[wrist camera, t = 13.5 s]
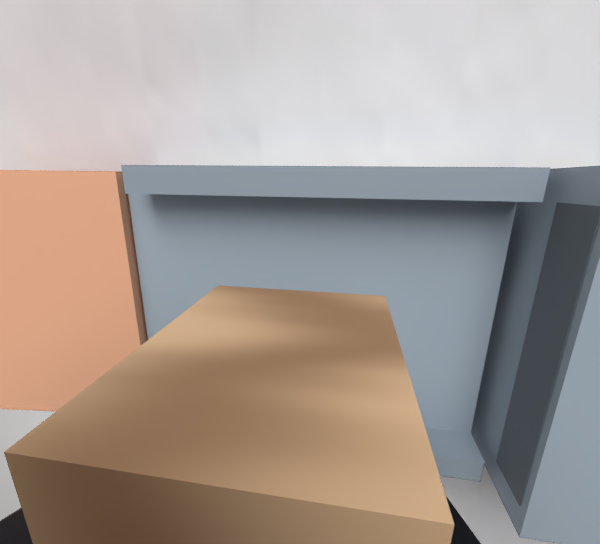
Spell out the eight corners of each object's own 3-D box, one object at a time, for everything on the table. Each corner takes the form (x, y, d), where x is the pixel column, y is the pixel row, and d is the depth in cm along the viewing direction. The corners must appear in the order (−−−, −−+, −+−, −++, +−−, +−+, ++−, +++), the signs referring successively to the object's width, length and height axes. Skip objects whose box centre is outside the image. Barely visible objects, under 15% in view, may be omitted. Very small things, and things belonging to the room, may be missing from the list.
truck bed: (610, 172, 12) (812, 164, 7) (540, 428, 15) (638, 556, 10) (153, 168, 15) (45, 161, 9) (178, 387, 18) (108, 471, 13)
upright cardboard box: (385, 295, 7) (454, 524, 2) (366, 497, 9) (385, 868, 4) (218, 285, 8) (5, 451, 3) (230, 476, 9) (106, 778, 5)
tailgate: (115, 171, 12) (-77, 169, 13) (150, 415, 16) (-4, 408, 16) (129, 172, 13) (-50, 170, 14) (160, 402, 17) (14, 395, 17)
